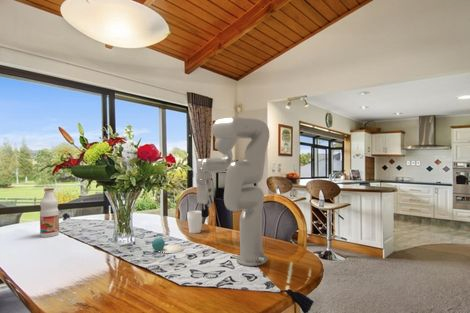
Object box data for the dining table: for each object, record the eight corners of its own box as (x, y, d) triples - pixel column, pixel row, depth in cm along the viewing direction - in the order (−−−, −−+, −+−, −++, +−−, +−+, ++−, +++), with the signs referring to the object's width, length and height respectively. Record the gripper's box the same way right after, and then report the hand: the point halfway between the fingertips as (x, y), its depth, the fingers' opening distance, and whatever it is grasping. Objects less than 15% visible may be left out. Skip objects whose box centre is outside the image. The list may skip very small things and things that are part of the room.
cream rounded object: (189, 249, 138) (189, 249, 138) (164, 255, 129) (164, 255, 129) (176, 243, 148) (176, 243, 148) (152, 249, 139) (152, 248, 139)
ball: (160, 236, 135) (150, 246, 133) (168, 244, 137) (159, 254, 134) (157, 234, 140) (148, 243, 138) (165, 242, 142) (156, 252, 139)
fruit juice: (62, 234, 172) (61, 187, 172) (46, 238, 163) (45, 189, 163) (53, 232, 176) (52, 187, 176) (36, 236, 168) (36, 188, 168)
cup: (195, 234, 164) (194, 213, 164) (184, 232, 170) (183, 212, 170) (205, 231, 171) (205, 211, 172) (195, 229, 177) (194, 209, 177)
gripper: (218, 182, 148) (219, 217, 148) (202, 181, 160) (203, 213, 159) (206, 183, 143) (206, 219, 143) (190, 181, 155) (191, 215, 155)
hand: (204, 216), depth 151 cm, fingers closed
